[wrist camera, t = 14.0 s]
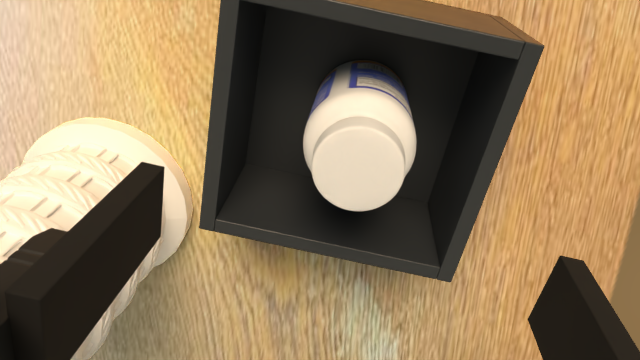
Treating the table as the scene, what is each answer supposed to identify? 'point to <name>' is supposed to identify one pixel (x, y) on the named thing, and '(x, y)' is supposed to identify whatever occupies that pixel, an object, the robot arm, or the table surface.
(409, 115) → the pill bottle
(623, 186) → the table surface
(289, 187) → the bin
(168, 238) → the decorative container
